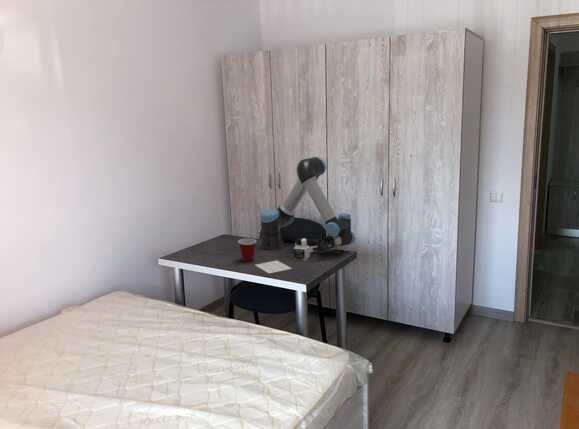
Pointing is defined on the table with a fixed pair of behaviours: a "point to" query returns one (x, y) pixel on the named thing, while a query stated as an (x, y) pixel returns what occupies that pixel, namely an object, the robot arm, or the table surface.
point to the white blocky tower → (301, 250)
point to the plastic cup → (247, 249)
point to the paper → (273, 266)
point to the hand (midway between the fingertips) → (301, 247)
